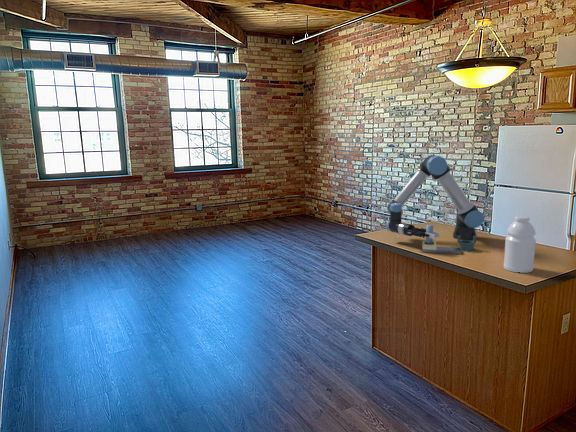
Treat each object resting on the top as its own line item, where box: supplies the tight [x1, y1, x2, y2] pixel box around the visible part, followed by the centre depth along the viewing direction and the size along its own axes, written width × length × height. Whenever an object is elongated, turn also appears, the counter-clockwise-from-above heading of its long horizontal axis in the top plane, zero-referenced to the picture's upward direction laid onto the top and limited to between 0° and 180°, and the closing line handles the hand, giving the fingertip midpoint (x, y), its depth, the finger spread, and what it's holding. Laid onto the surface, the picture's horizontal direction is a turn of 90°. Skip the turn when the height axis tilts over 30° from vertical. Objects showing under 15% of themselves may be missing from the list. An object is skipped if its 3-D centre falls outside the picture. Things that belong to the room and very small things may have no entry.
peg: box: [425, 224, 434, 244], centre depth 258 cm, size 4×4×12 cm
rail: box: [421, 240, 462, 255], centre depth 257 cm, size 22×8×5 cm, turn 73°
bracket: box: [456, 236, 477, 252], centre depth 260 cm, size 9×9×9 cm
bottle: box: [503, 215, 537, 274], centre depth 219 cm, size 14×14×28 cm
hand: (436, 236), depth 253 cm, fingers closed on peg, 4 cm apart
